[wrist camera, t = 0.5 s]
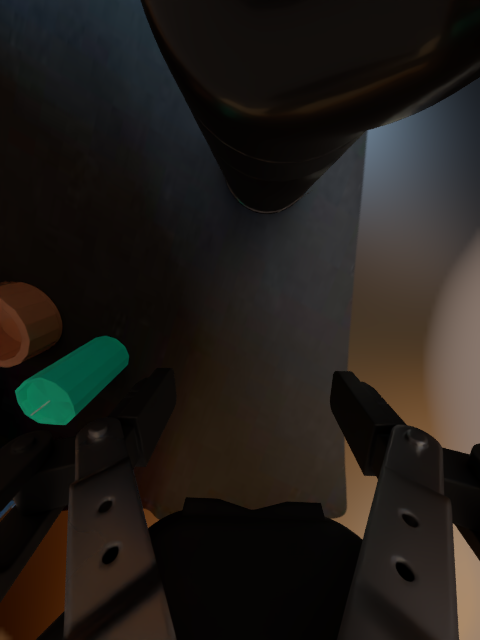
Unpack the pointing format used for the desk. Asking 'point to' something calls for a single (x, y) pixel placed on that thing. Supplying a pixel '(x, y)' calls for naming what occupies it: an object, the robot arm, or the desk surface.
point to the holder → (26, 323)
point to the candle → (72, 381)
